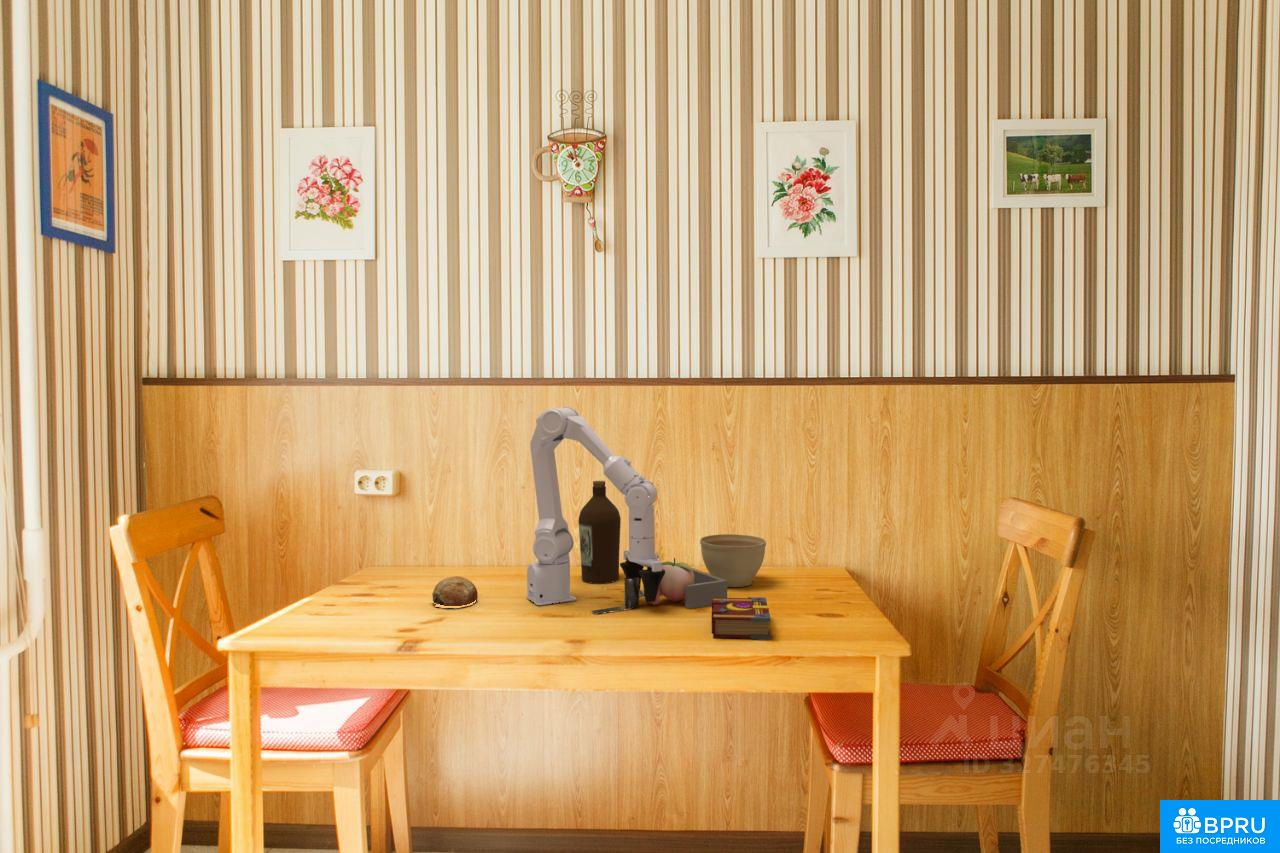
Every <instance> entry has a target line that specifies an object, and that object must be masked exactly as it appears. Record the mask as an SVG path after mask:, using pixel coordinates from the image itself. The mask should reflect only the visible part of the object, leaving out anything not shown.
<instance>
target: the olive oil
mask: <svg viewBox="0 0 1280 853" xmlns="http://www.w3.org/2000/svg"><path fill="white" fill-rule="evenodd" d="M592 485H593V486H592V496H591V498H590V499H589V500H588V501H587V502H586V503H585V505H584V506H583V507H582V508H581V510H580V513H579V516H578V532H579V534H578V535H579V549H580V564H581V565H580V568H581V581H582V582H584V581H586V582H585V583H587V582H592V583H591V584H595V583H602V584H607V583H606V582H611V583H613V582H612V581H615V582H617V581H618V580H619V578H620V546H621V545H620V544H621V543H620V542H621V541H620V540H621V523H622V522H621V515H620V511H619V510H618V508H617V506H616V505H615V504H614V503H613V502H612V501H611V500H610V499H609V498H608V496H607V495H606V494H607V486H606V481H605V480H593V481H592ZM616 580H617V581H616Z"/></svg>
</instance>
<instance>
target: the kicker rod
mask: <svg viewBox="0 0 1280 853" xmlns="http://www.w3.org/2000/svg"><path fill="white" fill-rule="evenodd" d="M623 579H624V580H623V582H624V584H623V585H624V606H626V607H632V608H637V607H639V606H640V598H643V597H644V598H645V596H644V589H643V590H642V589H640V591H639V578H638V577H624V578H623ZM660 597H661V595H660V585H659V588H658V592H657V596H656V600H655V601H654V602H648V603H649V604H651V605H653V606H654V605H659V604H661V602H660V601H661V600H660V599H661V598H660Z"/></svg>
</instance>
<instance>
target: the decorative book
mask: <svg viewBox="0 0 1280 853" xmlns="http://www.w3.org/2000/svg"><path fill="white" fill-rule="evenodd" d="M771 620H772V618H771V615H770V606H769V605H768V600H767V597H765V596H764V597H757V596H756V597H755V596H753V597H752V596H750V597H727V598H713V600H712V605H711V634H712V638H725V639H728V638H731V639H739V638H740V639H751V640H763V639H765V640H770V641H771V640H772V635H771V632H770V631H771V630H770V623H771V622H772V621H771Z"/></svg>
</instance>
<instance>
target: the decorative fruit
mask: <svg viewBox="0 0 1280 853" xmlns="http://www.w3.org/2000/svg"><path fill="white" fill-rule="evenodd" d="M661 562H662V561H661ZM692 568H693V567H692V566H691V565H690V564H688V563H686V562H676V558H675V557H673V562H672V561H663V562H662V569H663V570H665V575H664V576H663V578H662V580H661V582H660V593H661V594H662V595H661V596H663V597H665V598H666V599H668V600H669V601H670V602H674V603H676V602H679V601H680V600H683V599H685V585H691V584H694V573H693V570H692Z"/></svg>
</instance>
